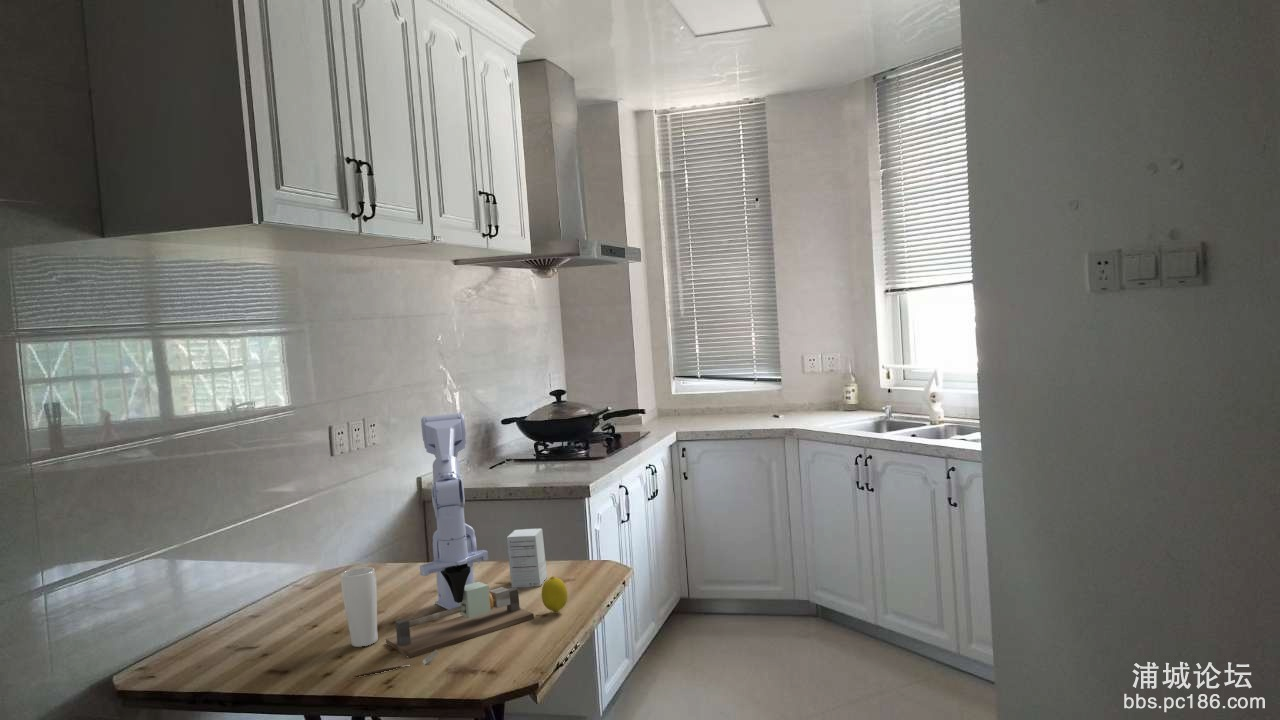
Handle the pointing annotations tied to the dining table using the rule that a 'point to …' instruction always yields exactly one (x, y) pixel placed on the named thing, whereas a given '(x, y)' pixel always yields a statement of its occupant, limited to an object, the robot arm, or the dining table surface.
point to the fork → (401, 666)
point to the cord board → (458, 624)
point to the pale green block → (476, 600)
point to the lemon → (554, 594)
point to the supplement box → (526, 558)
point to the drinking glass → (360, 605)
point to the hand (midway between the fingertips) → (458, 601)
